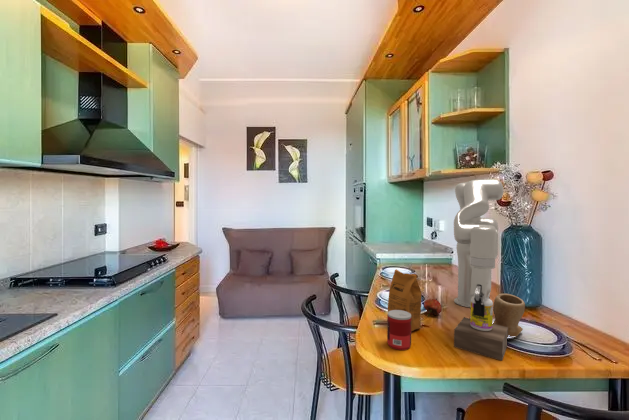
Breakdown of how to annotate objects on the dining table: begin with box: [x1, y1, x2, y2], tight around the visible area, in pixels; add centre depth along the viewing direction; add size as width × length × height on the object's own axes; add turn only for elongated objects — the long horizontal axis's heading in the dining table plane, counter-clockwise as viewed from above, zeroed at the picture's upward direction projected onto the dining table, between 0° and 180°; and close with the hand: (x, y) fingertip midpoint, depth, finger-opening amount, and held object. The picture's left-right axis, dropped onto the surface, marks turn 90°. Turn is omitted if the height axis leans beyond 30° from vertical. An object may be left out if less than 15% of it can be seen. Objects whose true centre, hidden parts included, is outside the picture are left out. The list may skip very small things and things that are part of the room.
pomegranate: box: [423, 298, 443, 317], centre depth 129 cm, size 7×7×10 cm
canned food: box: [386, 310, 412, 351], centre depth 101 cm, size 8×8×11 cm
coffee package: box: [387, 269, 422, 332], centre depth 116 cm, size 10×12×22 cm
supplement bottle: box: [469, 289, 494, 331], centre depth 101 cm, size 7×7×13 cm
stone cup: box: [493, 293, 526, 337], centre depth 110 cm, size 15×12×15 cm
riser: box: [453, 316, 508, 361], centre depth 101 cm, size 14×14×6 cm
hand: (481, 311), depth 101 cm, fingers open, 9 cm apart
